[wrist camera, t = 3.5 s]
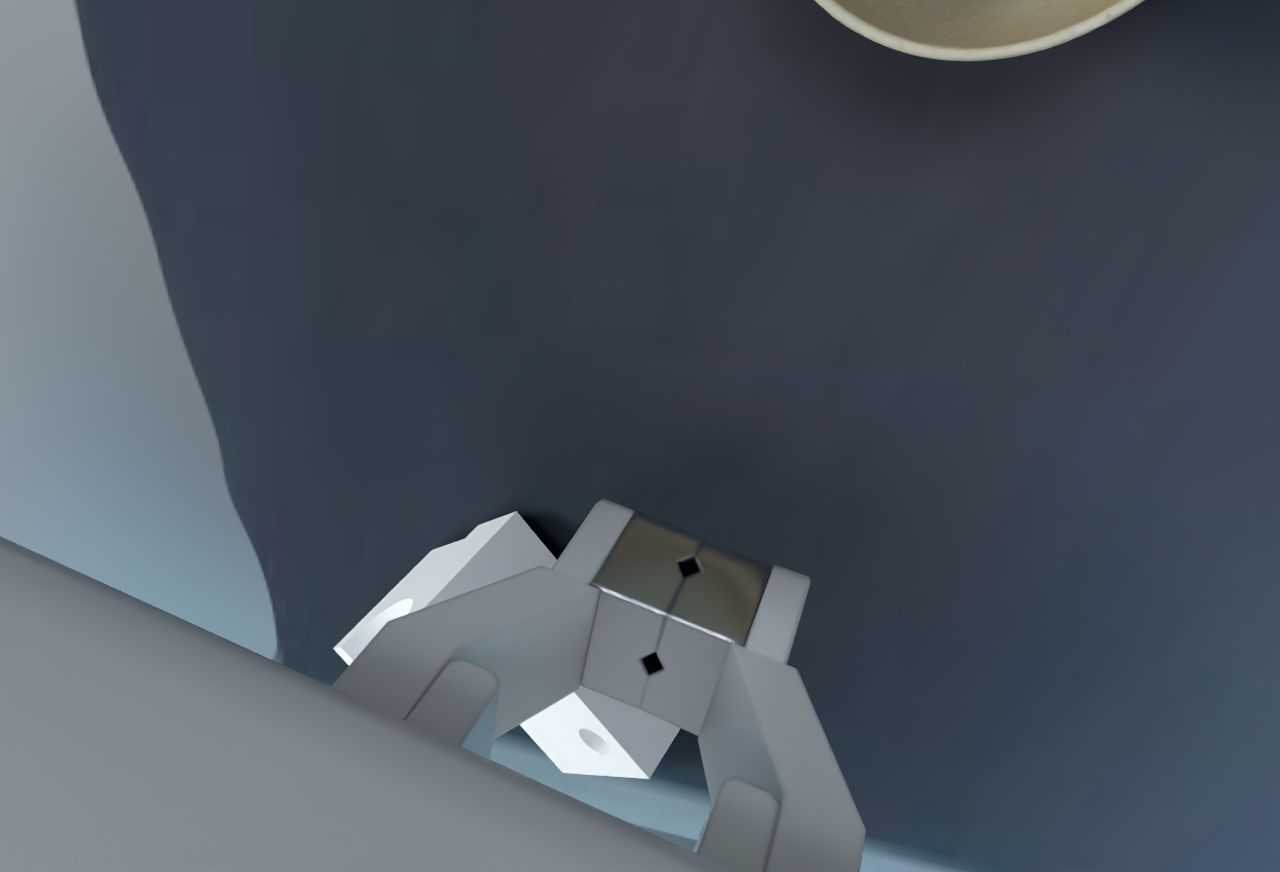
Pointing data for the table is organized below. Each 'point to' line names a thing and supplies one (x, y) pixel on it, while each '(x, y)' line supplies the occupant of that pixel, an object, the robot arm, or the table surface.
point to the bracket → (567, 730)
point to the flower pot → (974, 24)
